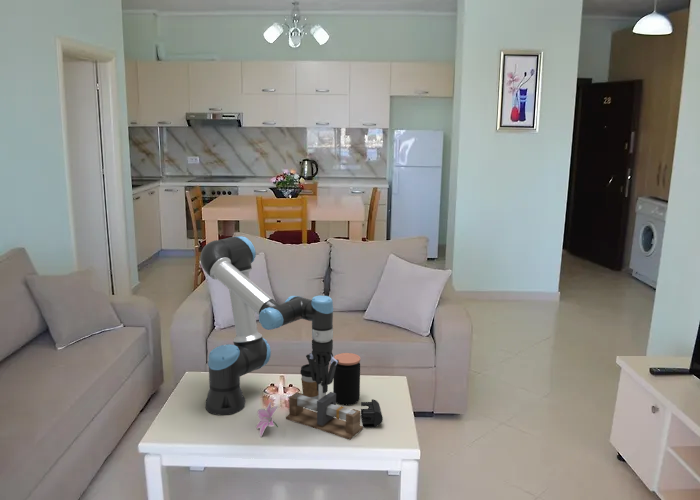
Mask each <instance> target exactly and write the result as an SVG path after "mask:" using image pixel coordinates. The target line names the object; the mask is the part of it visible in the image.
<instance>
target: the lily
mask: <svg viewBox="0 0 700 500" xmlns="http://www.w3.org/2000/svg"><path fill="white" fill-rule="evenodd" d="M278 407H279V406H278V405H276V406H273V407H272V401H270V402H269V403H268V405H267V406H266V408H265V409H264V408H263V409H262V408H261V409H257V418H258V419H259V421H258V422H257V424H256V426H255V430H257V429H259V437H260V438H262V436H263V434H264V432H265V430H266V428H267V427H275V426H276V428H279V426H278V425H277V423H276V422H275V420H274V419H273V416H274V414H275V412H276V411H277V410H278Z"/></svg>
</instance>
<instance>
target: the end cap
mask: <svg viewBox="0 0 700 500" xmlns="http://www.w3.org/2000/svg"><path fill="white" fill-rule="evenodd" d="M360 406H361V407H368V408H360V421H361V426H363V429H370V428H371V429H372V428H373V429H374V428H377V427H379V426H380V425H381V424H382V423H383V419H384V416H383V414H382V413H383V412H382V410H381V407H380V403H379V402H378V400H376V399H371V401H361V402H360Z"/></svg>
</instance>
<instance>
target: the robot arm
mask: <svg viewBox="0 0 700 500" xmlns="http://www.w3.org/2000/svg"><path fill="white" fill-rule="evenodd" d="M255 259H256V249H255V246H254V244H253V243H252V241H251V240H250V239H249V238H248V237H245V236H241V235H240V236H231V237H227V238H223V239H218V240H217V239H216V240H211V241H210V242H208V243H207V244H205V245H204V246H203V248H202V250H201V252H200V259H199V260H200V264H201V266H202V269H203V271H204V272H205V273H206V274H207V276H209V277H210V278H211V279H212V280H218V281H219V282H220V283H221V284H222V285H224V286H225V287H226V288H227V289H228V290H229V297H230V304H231V305H230V306H231V309H232V316H233V323H234V330H235V337H234V338H233V344H229V343H228V344H227V343H226V344H221V345H219V346H217V347H215V348H213V349H211V351H210V352H209V353H208V360H207V366H208V382H209V383H208V384H209V389H208V392H207V396H206V400H205V402H204V403H205V410H206V411H207V412H208V413H210V414H212V415H216V416H217V415H218V416H229V415H234V414H237V413H238V412H240V411H242V410H243V409H244V408H245V405H246V398H245V395H244V393H243V391H242V388H241V377H242V376H245V375H247V374H249V373H252V372H254V371H256V370H260V369H262V367H265V366H266V365H267V364H268V363H269V362H270V360H271V356H272V351H271V346H270V344H269V342H268V340H267V339H266V338H264V337H263V334H262V333H260V332H259V331H258V324H257V318H256V314H257V315H258V321H259V323H260V325H261V327H262V328H263V329H265V330H268V331H271V330H275V329H279V328H280V327H284V326H286V325H288V324H291V323H294V322H296V321H300V320H306V321H309V322H311V352H310V353H307V354H306V355H305V357H306V360H307V361H308V364H309V367H310V372H311V376H312V380H313V381H316V383H317V391H319V399H321V398H322V397H324V396H325V395H327V393H328V391H329V390H328V386H329V385H330V384H332V383H333V378H334V374H335V369H336V365H337V364H338V362H339V360H338V359H337V360H336V359H335V358H334V354H333V349H334V344H333V343H334V340H333V338H334V328H333V327H334V326H333V322H334V319H333V318H334V306H333V305H334V304H333V303H334V302H333V299H332V298H331V297H330V296H328V295H315V296H313V297H312V299H310V298H306V297H303V296H300V295H290V296H288V297H287V298H286V300H285V301H284V302H282V303H279V302H278V301H276V300H275V299H274V298H273V297H271V296H270V295H269V294H268V293H267V292H265V291H264V289H261V287H259V286H258V285H257V284H256V283H255V282H253V281H252V280H251V279H250V272H251V271H252V263H253V262H254V261H255Z"/></svg>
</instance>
